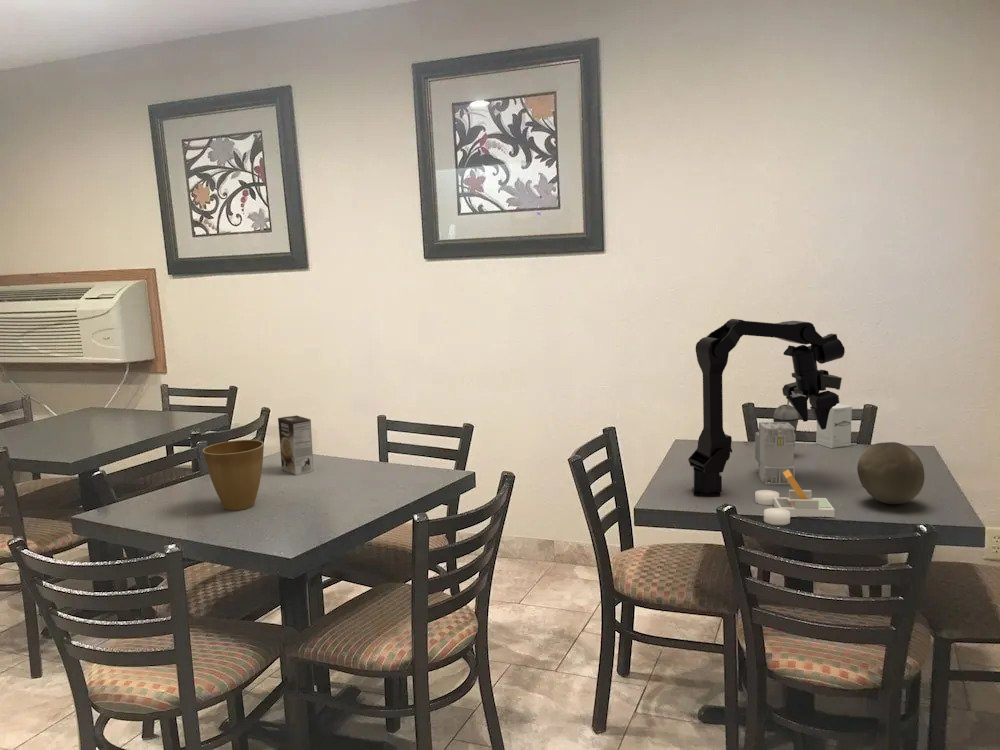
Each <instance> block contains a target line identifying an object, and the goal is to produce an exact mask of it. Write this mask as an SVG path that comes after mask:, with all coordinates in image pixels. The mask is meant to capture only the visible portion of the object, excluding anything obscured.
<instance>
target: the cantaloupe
mask: <svg viewBox="0 0 1000 750" xmlns="http://www.w3.org/2000/svg"><path fill="white" fill-rule="evenodd" d="M856 468H857V469H856V470H857V476H858V478H859V481H860V484H861V486H862V487H863V488H864V489H865V491H866V492H867V493H868V494H869V495H870V496H871V497H872V498H873V499H875V500H877V501H879V502H881V503H883V504H887V505H902V504H905V503H908V502H911V500H913V499H914V498H916V497H917V496H918V495H919V493H920V492H921V491H922V489H923V487H924V483H925V479H926V477H925V468H924V465H923V462H922V460H921V459H920V456H918V454H917V453H916V452H915V451H914V450H912V449H911V448H910V447H908V446H907V445H905V444H903V443H900V442H895V441H890V442H889V441H887V442H886V441H885V442H878V443H874V444H872V445H870V446H869V447H868V448H867V449H865V450H864V451H863V453H862V454H861V455H860V457H859V459H858V463H857V467H856Z"/></svg>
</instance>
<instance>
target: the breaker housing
mask: <svg viewBox="0 0 1000 750" xmlns="http://www.w3.org/2000/svg"><path fill="white" fill-rule="evenodd" d="M802 491H803V492H804V494H805V496H806V497H807V499H799V497H798V496H797V494H796V492H795V491H794V489H788V497H780V496H779V497H773V505H774V506H773V505H772V506H773V508H774V507H775V508H782V509H786V510H788V511H790V518H791V517H796V516H822V517H824V516H826V517H835V514H836V510H835V508H834V507H833V506H832V504H831V503H830V502H829V500H828V499H827V498H826V497H812V496H813V495H812V493H813V492H812V490H811V489H802ZM835 518H836V517H835Z"/></svg>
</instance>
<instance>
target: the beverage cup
mask: <svg viewBox="0 0 1000 750" xmlns="http://www.w3.org/2000/svg"><path fill="white" fill-rule="evenodd" d="M786 403H787V404H781V405H779V406H778V407H777V408H775V410H774V412H773V417H772V420H773V422H788V423H790V424H791V425H792V426H793V427H794V428H795V430H794V433H795V439H796V436H797V428H798V423H799V414H798V413H797V411H796V410H795V409H794V407H793V406H792V405H791V404H790V402H789V401H788V400H787V402H786ZM795 445H796V443H795V444H794V448H795Z"/></svg>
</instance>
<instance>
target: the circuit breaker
mask: <svg viewBox="0 0 1000 750" xmlns="http://www.w3.org/2000/svg"><path fill="white" fill-rule="evenodd" d="M794 430H795V428H794V427H793V426H792V425H791V424H790V423H788V422H774V421H773V422H772V421H771V422H770V421H769V422H768V421H767V422H763V421H762V422H760V421H759V422H758V432H755V434H754V436H755V437H754V438H755V439H754V441H755V442H754V459H755V460H756V462H757V463H758V466H757V467H758V468H757V469H758V470H757V471H758V473H757V475H758V476H757V477H758V478H759V477H760V478H759V479H760V480H761V481H762V483H763V482H765V483H764V485H790V483H788V480H787V479H786V477H785V475H784V474H783V472H784V471H786V470H789V471H790V473H791V474H792V475H793V477H794V478H795V472H796V471H795V470H796V469H795V464H794V463H795V447H794V444H795V445H796V438H795V433H794ZM768 482H770V483H768Z"/></svg>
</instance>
